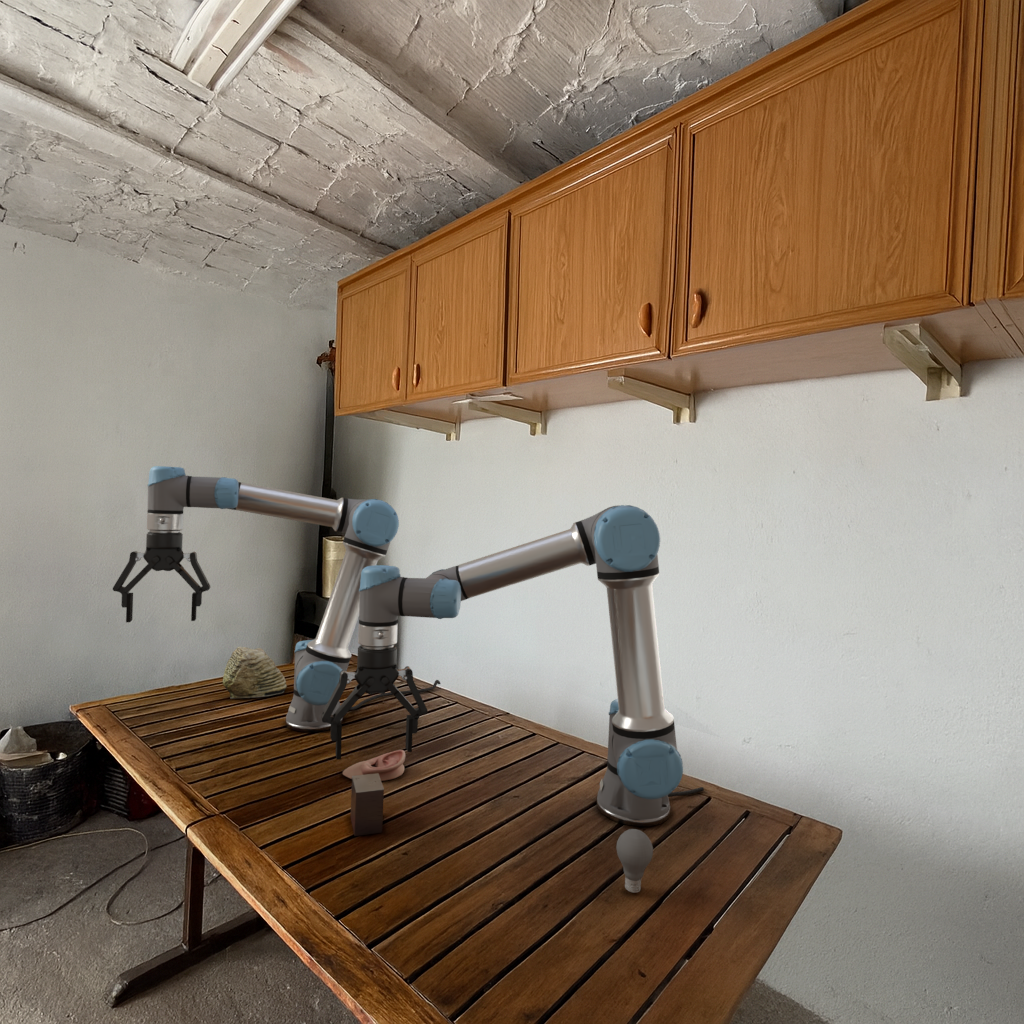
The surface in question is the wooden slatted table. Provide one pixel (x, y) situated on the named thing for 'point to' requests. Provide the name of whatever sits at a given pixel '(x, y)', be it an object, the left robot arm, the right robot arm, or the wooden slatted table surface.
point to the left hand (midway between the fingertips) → (161, 620)
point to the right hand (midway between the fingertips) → (374, 753)
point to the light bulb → (634, 857)
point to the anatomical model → (379, 766)
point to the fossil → (252, 674)
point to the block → (367, 804)
